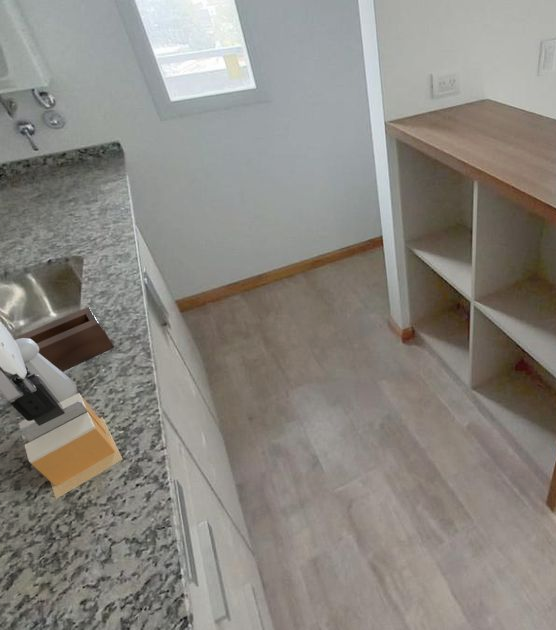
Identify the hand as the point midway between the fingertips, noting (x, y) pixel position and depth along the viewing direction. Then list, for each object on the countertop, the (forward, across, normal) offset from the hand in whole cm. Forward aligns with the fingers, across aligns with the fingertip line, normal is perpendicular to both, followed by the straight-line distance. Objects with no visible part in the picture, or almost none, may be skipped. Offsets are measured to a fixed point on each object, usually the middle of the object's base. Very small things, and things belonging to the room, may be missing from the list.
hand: (40, 407), depth 58 cm
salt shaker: (+11, -15, 0) cm, 18 cm away
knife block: (+11, -27, +5) cm, 30 cm away
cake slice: (+10, +2, 0) cm, 10 cm away
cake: (+11, 0, 0) cm, 11 cm away
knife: (+10, 0, 0) cm, 10 cm away
